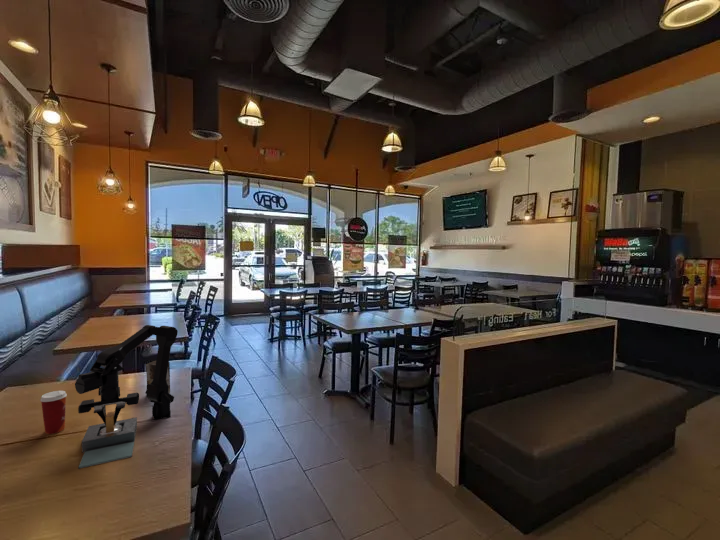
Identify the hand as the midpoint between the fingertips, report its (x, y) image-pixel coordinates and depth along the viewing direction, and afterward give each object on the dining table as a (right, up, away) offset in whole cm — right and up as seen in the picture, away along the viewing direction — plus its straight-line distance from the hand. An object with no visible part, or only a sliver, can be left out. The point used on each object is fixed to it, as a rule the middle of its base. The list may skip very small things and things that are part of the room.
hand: (110, 424), depth 138 cm
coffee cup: (-27, -6, +7) cm, 28 cm away
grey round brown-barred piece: (0, -5, 0) cm, 5 cm away
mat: (+6, -7, -10) cm, 14 cm away
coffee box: (-6, -4, +44) cm, 44 cm away
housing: (0, -6, +1) cm, 6 cm away
